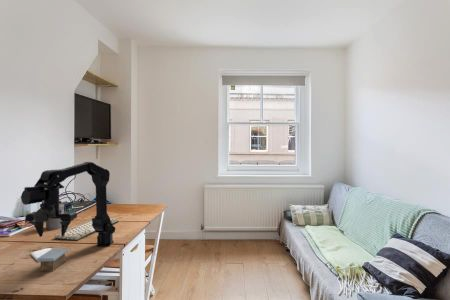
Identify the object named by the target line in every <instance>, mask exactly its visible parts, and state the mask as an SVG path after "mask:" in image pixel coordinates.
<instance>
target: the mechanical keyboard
mask: <svg viewBox="0 0 450 300" xmlns="http://www.w3.org/2000/svg"><path fill="white" fill-rule="evenodd" d="M110 220H111V225H113V226H114V225H116V224H118V223H120V221H119V219H118V218H111V217H110ZM94 234H96V231H95V229H94V228H93V226H92V218H91V219H90V220H87V221H84V222H82V223H79V224H77V225H75V226H73V227H71V228H67V230H66V232H65V235H64V236H63V237H62V235H61V232H59V233H56V234H55V235H54V238H53V239H54V240H57V241H79V240H81V239H84V238H87V237H90V236H91V235H94Z"/></svg>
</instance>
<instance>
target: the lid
mask: <svg viewBox="0 0 450 300" xmlns="http://www.w3.org/2000/svg"><path fill="white" fill-rule="evenodd" d="M67 252H68V248H51V250H50V251H48V252H47V253H45V254H43V255H42V256H40V257H39V258H37V260H36V262H38V261H40V262H41V261H55V260H56V259H57V258H59V257H60V256H62V255H63V254H64V253H65V254H66V253H67Z"/></svg>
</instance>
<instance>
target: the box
mask: <svg viewBox="0 0 450 300" xmlns="http://www.w3.org/2000/svg"><path fill="white" fill-rule="evenodd" d="M65 255H66V253H64V254H63V255H62V256H60V257H59V258H57V259H56V260H55V261H40V272H54V271H55V270H56V268H57V269H58V268H59V267H60V266H62V265H63V264H64V263H66V259H65V258H66V256H65ZM53 270H54V271H53Z"/></svg>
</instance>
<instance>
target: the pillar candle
mask: <svg viewBox="0 0 450 300" xmlns="http://www.w3.org/2000/svg"><path fill="white" fill-rule="evenodd" d="M59 210H61V213H60V214H63V213H65V205H64V204H62V203H60V204H59ZM61 221H62V220H60V218H51V219H48V221H46V222H45V230H47V231H54V230H59V229H61V223H60V222H61Z"/></svg>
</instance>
